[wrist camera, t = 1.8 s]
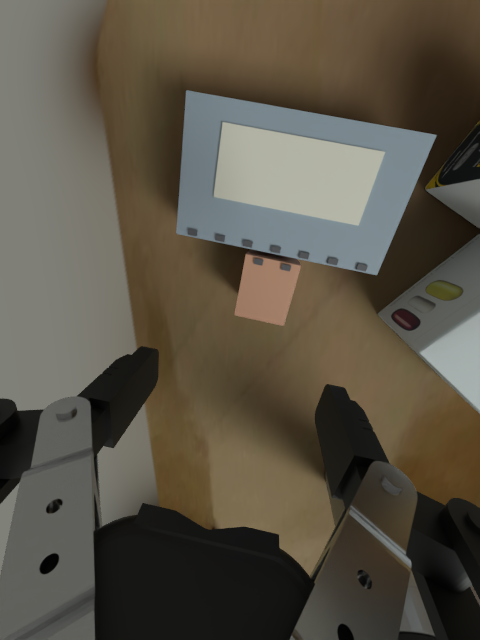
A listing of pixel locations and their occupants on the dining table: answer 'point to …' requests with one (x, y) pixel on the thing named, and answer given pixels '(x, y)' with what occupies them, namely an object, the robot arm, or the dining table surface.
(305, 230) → the block
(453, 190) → the medicine bottle
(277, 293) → the stub
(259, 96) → the dining table surface
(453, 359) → the supplement box
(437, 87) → the dining table surface
